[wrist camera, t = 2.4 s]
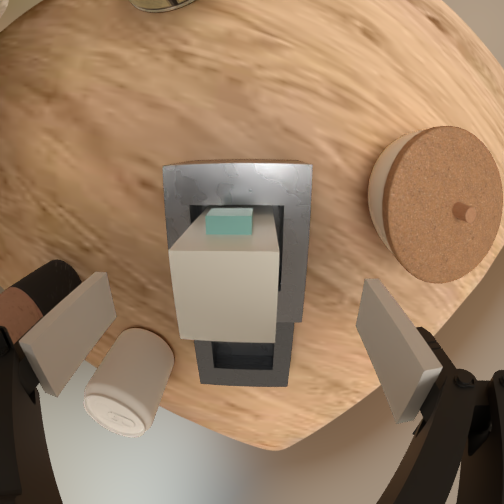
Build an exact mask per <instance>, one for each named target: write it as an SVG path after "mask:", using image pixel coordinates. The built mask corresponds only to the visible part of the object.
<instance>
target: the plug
mask: <svg viewBox="0 0 504 504" xmlns="http://www.w3.org/2000/svg"><path fill="white" fill-rule="evenodd" d="M168 252H169V261H170V270H171V278H172V286H173V294H174V301H175V308H176V315H177V321H178V328H179V334H180V339H189V340H204V341H223V342H252V343H275V335H276V318H277V298H278V277H279V246H278V240H277V233H276V227H275V221H274V216H273V210H272V205H209V206H208V207H207V208H206V209H205V210H204V211H203V212H202V213H201V214H200V215H199V217H198V218H197V219H196V220H195V221H194V222H193V223H192V224H191V225H190V226H189V228H188V229H187V230H186V231H185V232H184V233H183V234H182V235H181V237H180V238H179V239H178V240H177V241H176V242H175V243H174V245H173V246H172V247H171V248H170V249H169V250H168Z"/></svg>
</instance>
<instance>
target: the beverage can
mask: <svg viewBox="0 0 504 504" xmlns="http://www.w3.org/2000/svg"><path fill="white" fill-rule="evenodd" d="M173 365H174V355H173V353H172V350H171V349H170V347H169V346H168V344H167V343H166V342H165V341H164V340H163V339H162V338H160V337H159V336H158V335H156V334H154V333H152V332H150V331H148V330H145V329H140V328H131V329H127V330H125V331H123V332H122V333H121V334H120V335H119V336H118V338H117V339H116V341H115V342H114V344H113V345H112V347H111V348H110V350H109V351H108V353H107V354H106V356H105V357H104V359H103V361H102V362H101V364H100V365H99V367H98V368H97V370H96V372H95V373H94V375H93V376H92V378H91V379H90V381H89V383H88V384H87V386H86V388H85V391H84V397H85V398H84V401H83V404H84V408H85V409H86V411H87V413H88V414H89V415H90V416H91V418H92V419H94V420H95V421H96V422H97V423H98V424H100V425H101V426H102V427H104V428H106V429H107V430H109V431H111V432H114V433H116V434H119V435H122V436H126V437H139V436H141V435H143V434H144V432H145V431H146V430H148V429H149V428H150V427H151V425H152V423H153V421H154V418H155V415H156V412H157V409H158V407H159V404H160V401H161V398H162V395H163V393H164V390H165V387H166V384H167V382H168V379H169V376H170V373H171V371H172V368H173Z"/></svg>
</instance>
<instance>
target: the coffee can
mask: <svg viewBox="0 0 504 504" xmlns="http://www.w3.org/2000/svg"><path fill="white" fill-rule="evenodd" d="M129 1H130V2H131V3H132V5H133V6H135V7H136V8H138V9H140V10H142V11H146V12H154V13H156V12H165V11H171V10H174V9H178V8H180V7H183V6H185V5H187V4H190V3H191V2H193V1H195V0H129Z"/></svg>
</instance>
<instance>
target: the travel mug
mask: <svg viewBox="0 0 504 504" xmlns="http://www.w3.org/2000/svg"><path fill="white" fill-rule="evenodd" d="M80 284H81V280H80V278H79V276H78V275H77V273H76V272H75V270H74V269H73V268H72V267H71V266H70V265H69V264H67V263H66V262H64V261H61V260H52V261H50V262H48V263H47V264H45V265H43V266H42V267H40V268H38V269H37V270H35V271H34V272H32V273H30V274H29V275H27V276H26V277H24V278H23V279H21V280H20V281H18V282H17V283H15V284H14V285H12V286H11V287H9V288H8V289H6V290H5V291H4V292H2V293H1V294H0V326H5V327H6V328H7V330H8V333H9V335H10V337H11V340H12V342H13V344H15V343H16V342H17V341H18V340H19V339H20V338H21V337H22V336H23V335H24V334H25V333H26V332H27V331H28V330H29V329H31V327H32V326H33V325H34V324H36V322H37V321H38V320H39V319H40V318H42V317H43V316H45V315H46V314H48V313H49V312H50V311H51V310H52V309H53V308H54V307H55V306H56V305H57V304H59V303H60V302H61V301H62V300H63V299H64V298H65V297H66V296H68V295H69V294H70V293H71V292H72V291H73V290H74V289H76V288H77V287H78V286H79V285H80Z"/></svg>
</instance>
